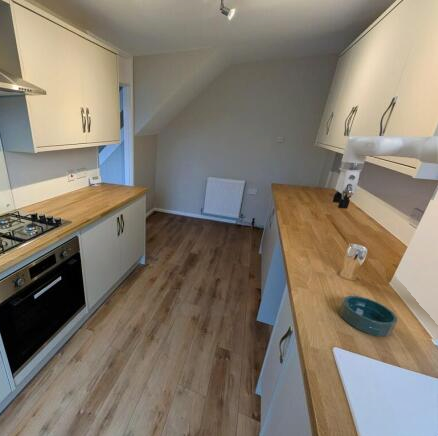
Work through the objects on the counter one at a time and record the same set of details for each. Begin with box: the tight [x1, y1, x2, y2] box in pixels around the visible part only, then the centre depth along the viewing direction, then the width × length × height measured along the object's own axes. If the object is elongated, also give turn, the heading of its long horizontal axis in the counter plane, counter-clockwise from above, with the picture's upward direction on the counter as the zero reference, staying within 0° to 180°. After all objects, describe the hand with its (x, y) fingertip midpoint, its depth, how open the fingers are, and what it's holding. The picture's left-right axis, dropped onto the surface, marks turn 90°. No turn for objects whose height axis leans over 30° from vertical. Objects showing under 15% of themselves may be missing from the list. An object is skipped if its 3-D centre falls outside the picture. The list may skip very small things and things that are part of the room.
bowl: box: [339, 295, 398, 337], centre depth 81 cm, size 14×14×6 cm
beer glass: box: [338, 243, 369, 281], centre depth 106 cm, size 7×7×15 cm
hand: (339, 205), depth 106 cm, fingers open, 9 cm apart
